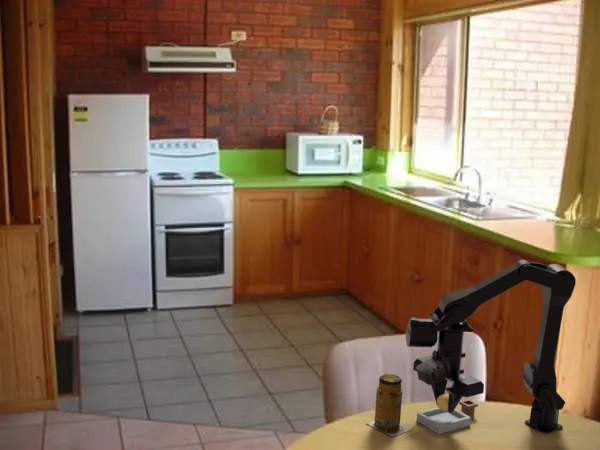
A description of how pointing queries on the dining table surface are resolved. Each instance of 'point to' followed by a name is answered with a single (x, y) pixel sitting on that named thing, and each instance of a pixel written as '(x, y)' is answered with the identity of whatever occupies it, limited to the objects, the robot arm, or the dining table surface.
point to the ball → (443, 402)
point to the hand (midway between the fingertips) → (444, 409)
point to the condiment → (389, 406)
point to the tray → (443, 420)
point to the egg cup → (468, 407)
